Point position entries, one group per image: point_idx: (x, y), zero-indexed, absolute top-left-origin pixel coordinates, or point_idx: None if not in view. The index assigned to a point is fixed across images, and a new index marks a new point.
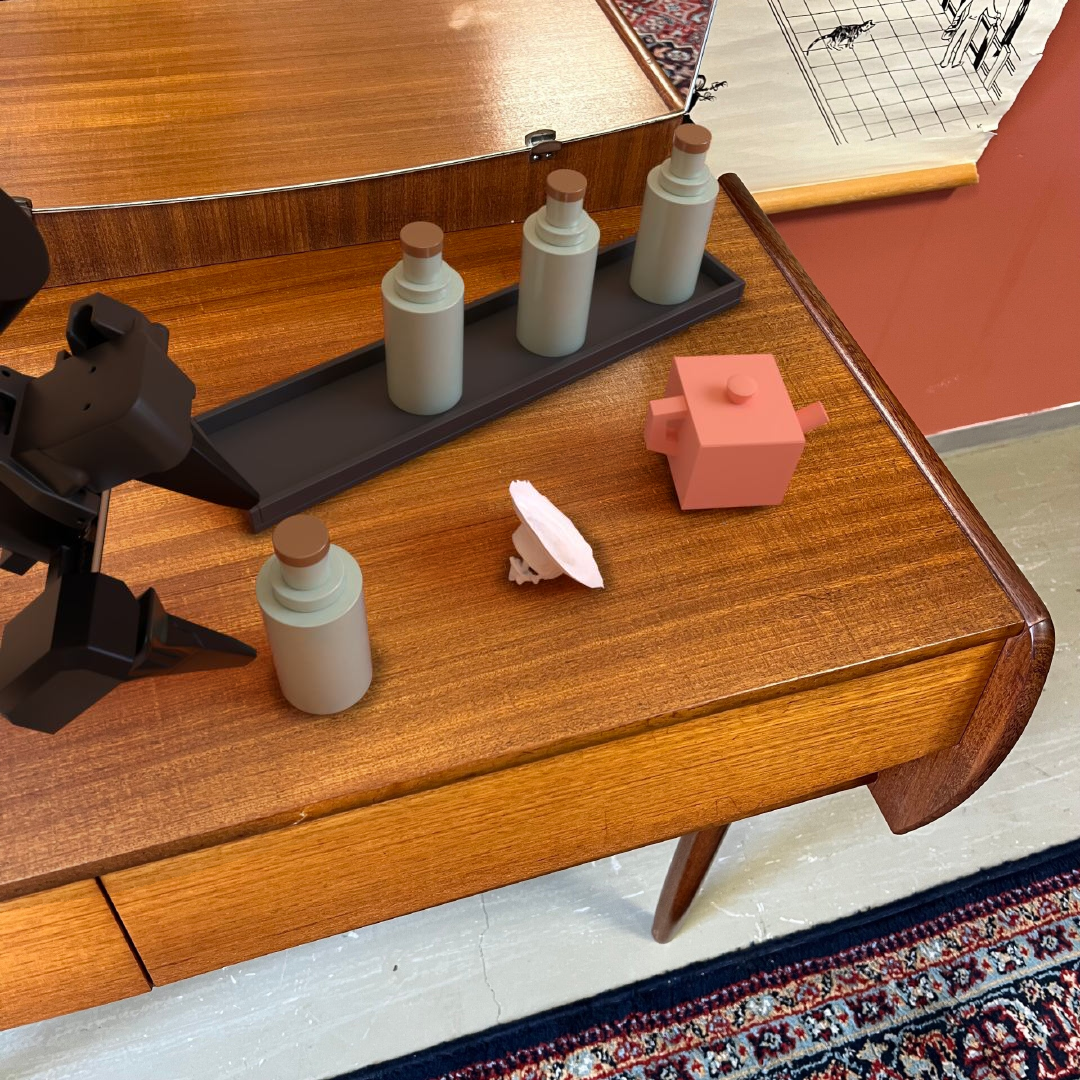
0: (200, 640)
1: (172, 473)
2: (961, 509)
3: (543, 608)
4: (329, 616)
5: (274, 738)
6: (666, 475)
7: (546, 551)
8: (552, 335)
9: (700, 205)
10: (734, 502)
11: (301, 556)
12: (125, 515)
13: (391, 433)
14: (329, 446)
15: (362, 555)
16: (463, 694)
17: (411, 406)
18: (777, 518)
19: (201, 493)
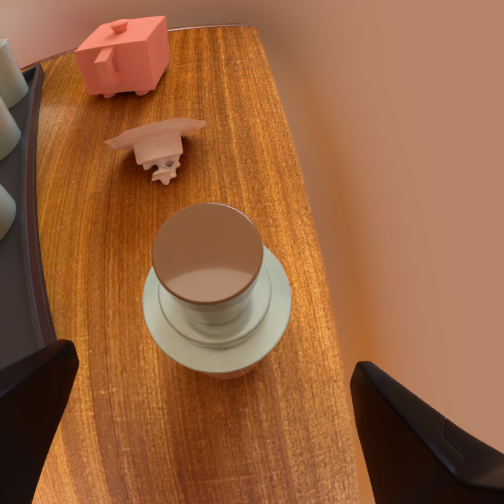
0: (441, 423)
1: (19, 459)
2: (196, 26)
3: (197, 169)
4: (278, 274)
5: (282, 385)
6: (122, 99)
7: (183, 123)
8: (8, 133)
9: (6, 42)
10: (162, 69)
11: (259, 250)
12: (41, 472)
13: (15, 248)
14: (9, 298)
15: (108, 291)
16: (262, 231)
17: (3, 227)
18: (174, 66)
19: (50, 423)
